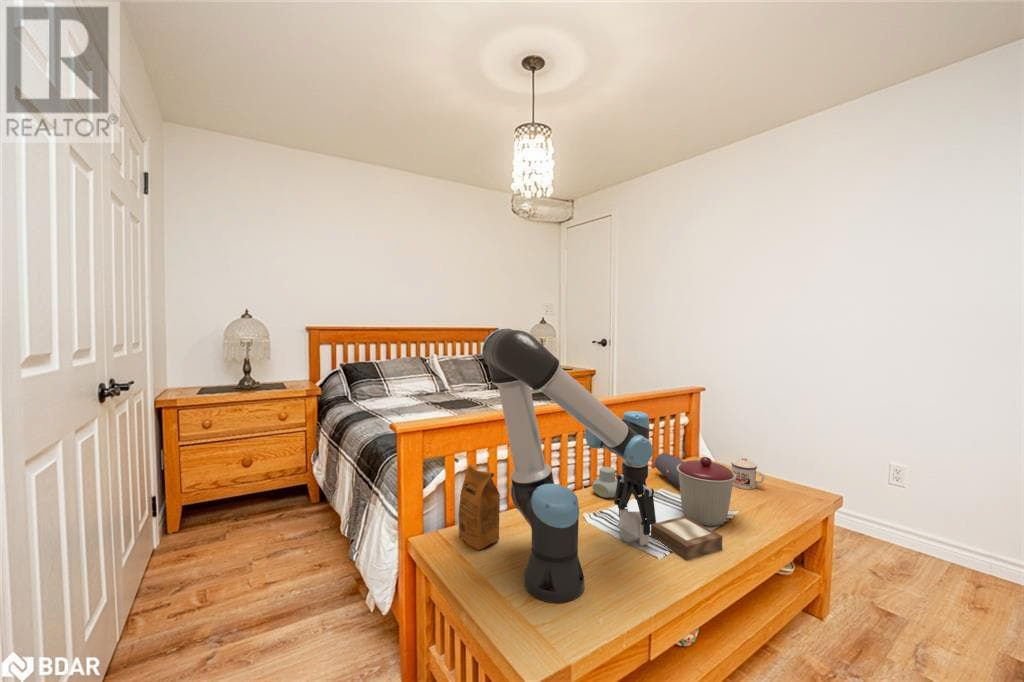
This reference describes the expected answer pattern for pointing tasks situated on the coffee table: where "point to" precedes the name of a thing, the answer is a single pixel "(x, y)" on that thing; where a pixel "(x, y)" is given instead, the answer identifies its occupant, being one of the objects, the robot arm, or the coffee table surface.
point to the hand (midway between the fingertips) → (633, 536)
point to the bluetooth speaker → (668, 467)
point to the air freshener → (605, 483)
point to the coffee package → (479, 509)
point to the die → (630, 526)
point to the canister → (705, 490)
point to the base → (686, 537)
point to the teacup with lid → (745, 474)
